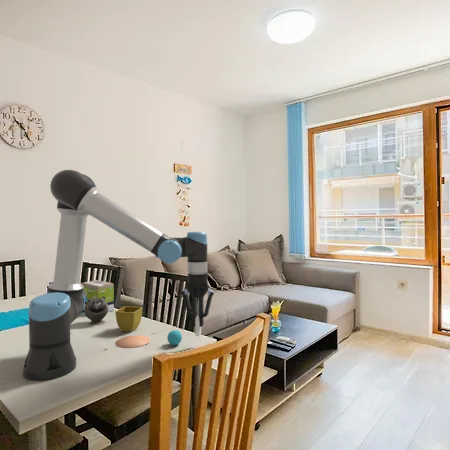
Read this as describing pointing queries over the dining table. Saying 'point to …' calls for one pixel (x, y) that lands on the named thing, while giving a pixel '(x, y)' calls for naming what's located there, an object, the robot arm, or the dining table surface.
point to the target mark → (132, 341)
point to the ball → (174, 337)
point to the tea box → (99, 292)
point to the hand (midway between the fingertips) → (198, 334)
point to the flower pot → (128, 318)
